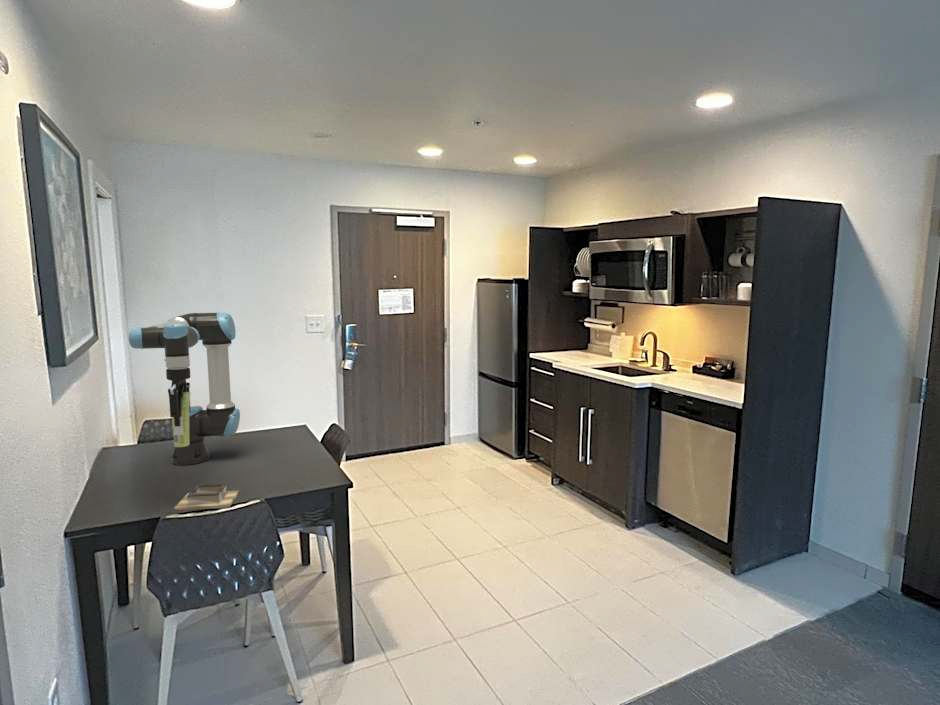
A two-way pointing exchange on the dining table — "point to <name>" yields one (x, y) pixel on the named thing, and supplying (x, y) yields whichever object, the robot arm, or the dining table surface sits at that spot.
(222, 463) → the dining table surface
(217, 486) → the collar board
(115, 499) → the dining table surface
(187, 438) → the tube
